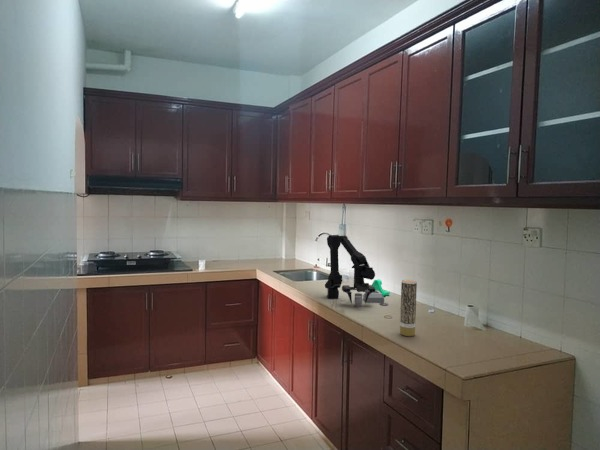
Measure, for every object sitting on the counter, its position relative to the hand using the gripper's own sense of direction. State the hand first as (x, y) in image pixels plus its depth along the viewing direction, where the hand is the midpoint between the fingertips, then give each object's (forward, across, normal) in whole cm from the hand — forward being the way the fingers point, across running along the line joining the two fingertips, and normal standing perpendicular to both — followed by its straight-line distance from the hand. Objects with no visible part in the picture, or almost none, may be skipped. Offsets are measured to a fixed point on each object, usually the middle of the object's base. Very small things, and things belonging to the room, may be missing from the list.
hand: (358, 303), depth 237 cm
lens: (+2, 0, 0) cm, 2 cm away
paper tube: (+2, +12, -50) cm, 51 cm away
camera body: (+2, +12, +11) cm, 16 cm away
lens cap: (+2, +16, +2) cm, 16 cm away
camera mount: (+2, +21, +28) cm, 35 cm away
